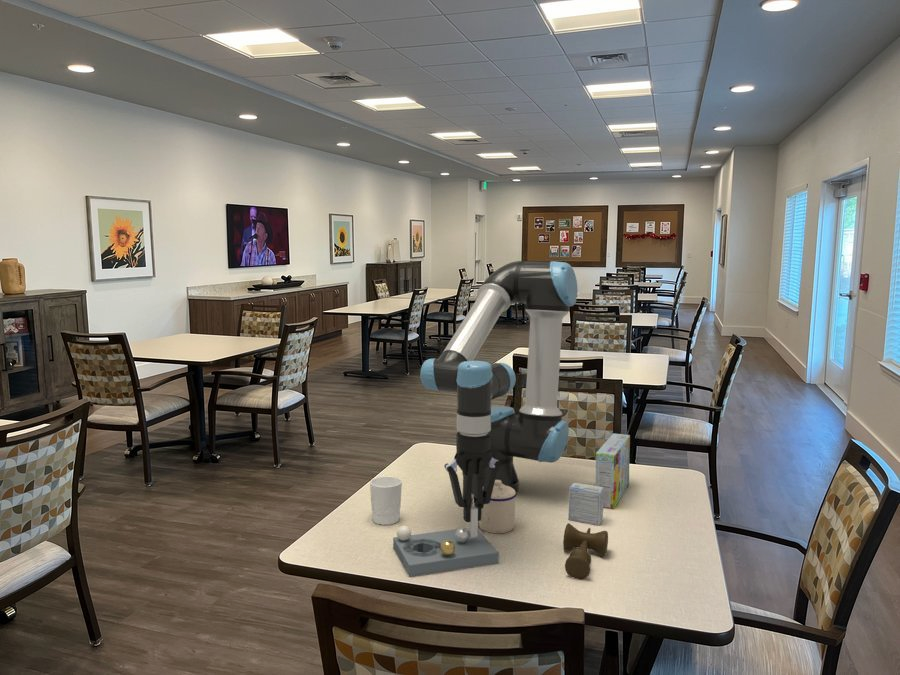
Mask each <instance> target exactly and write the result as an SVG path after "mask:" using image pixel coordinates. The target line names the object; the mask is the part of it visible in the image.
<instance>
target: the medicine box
mask: <svg viewBox="0 0 900 675" xmlns="http://www.w3.org/2000/svg"><path fill="white" fill-rule="evenodd" d="M568 488H569V489H568V492H569V493H568V517H567V518H568V519H567V520H569V521H573V522H578V523H585V524H590V525H596V526H600V525H601V523H602V520H603V519H604V518H603V517H604V508H603V494H604V488H603V487H599V486H596V485H591V484H586V483H585V484H584V483H579V482H573V483H572V484H571V486H570V487H568Z"/></svg>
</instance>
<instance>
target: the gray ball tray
mask: <svg viewBox="0 0 900 675" xmlns="http://www.w3.org/2000/svg"><path fill="white" fill-rule="evenodd" d="M464 528H465V529H466V530H467V527H464ZM458 529H459V528H455V529H449V530H448V529H447V530H439V531H433V532H424V533H417V534H411V536H410V538H409V539H408V540H405V541H402V540H400V539H399V538H398V536H394V537H393V539H392V540H393V541H392V545H393V547H392V549H393V550H394V552H395V554H396V555H397V557H398V559H399V561H400V563H401V565H402V566H403V568H404V570H405V572H406V574H407V576H408V575H409V576H408V577H409V578H410V577H416V576H424V575H430V574H436V573H443V572H450V571H456V570H462V569H468V568H470V569H471V568H475V567H477V568H478V567H482V566H488V565H489V566H490V565H495V564H499V562H500V556H499V554H500V553H499V551H498V550H497V549H496V547H495V546H494V545H493V544H492V543H491V542H490V540H488V538H487V537H486V536H485V534H483V533H482V532H481V531H480V529H479V528H478V529H477V537H472V538H471V537H470V536H469V539H468V541H467V542H465V543H460V542H458V541H457V540H456V538H455V533H456V531H457V530H458ZM446 540H450V541H452V542H453V543H454V545H455V551H454V553H453V554H452V555H450V556H445V555H443V554H442V553H441V550H440V546H441V544H442V542H444V541H446Z"/></svg>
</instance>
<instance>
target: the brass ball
mask: <svg viewBox="0 0 900 675" xmlns="http://www.w3.org/2000/svg"><path fill="white" fill-rule="evenodd" d="M440 550H441V553H442V554H443V555H445V556H450V555H452V554H453V553H454V551H455V545H454V543H453V542H452V541H450V540H446V541H444V542H442V544H441V546H440Z"/></svg>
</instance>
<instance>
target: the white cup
mask: <svg viewBox="0 0 900 675" xmlns="http://www.w3.org/2000/svg"><path fill="white" fill-rule="evenodd" d="M402 483H403V481H402V479H401V478H399V477H396V476H388V475H387V476H386V475H385V476H378V477H375V478H372V479H371V480H370V482H369V485H370V486H369V488H370V504H371V512H372V513H371V514H372V522H373V523H375V524H377V525H380V524H381V526H389V525H393V524H396V523H398V522H399V521H400V518H401V506H402V505H401V504H402V490H403V489H402V485H403V484H402Z"/></svg>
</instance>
